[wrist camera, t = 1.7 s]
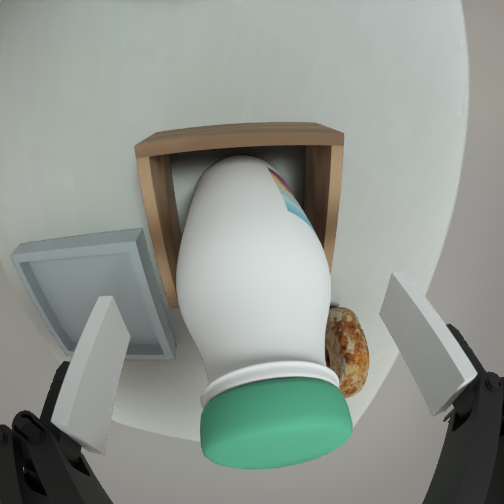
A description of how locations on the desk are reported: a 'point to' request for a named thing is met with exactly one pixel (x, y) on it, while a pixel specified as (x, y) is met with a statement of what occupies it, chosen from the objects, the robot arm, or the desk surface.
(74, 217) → the desk surface
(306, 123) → the open wooden box frame
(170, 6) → the desk surface
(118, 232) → the tray
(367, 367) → the bagel
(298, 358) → the milk bottle
